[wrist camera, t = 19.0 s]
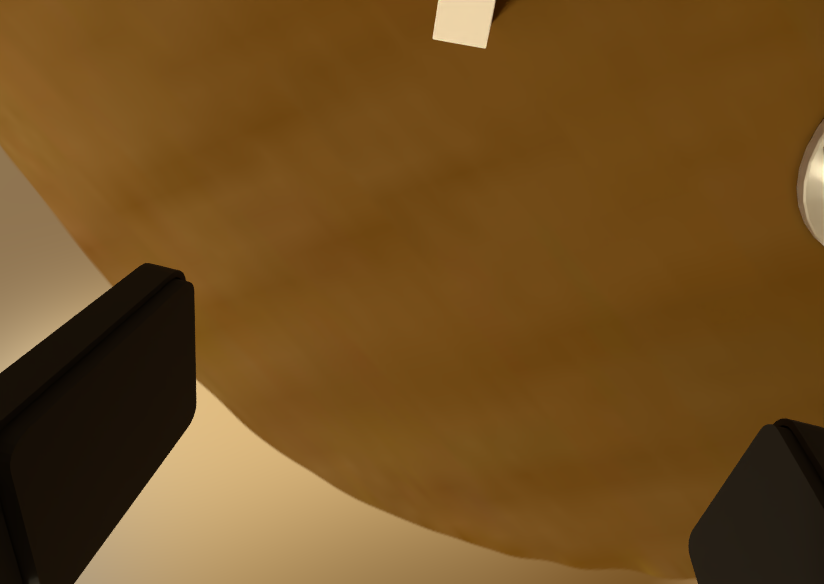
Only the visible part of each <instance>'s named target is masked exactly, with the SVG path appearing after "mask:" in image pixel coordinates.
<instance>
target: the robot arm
mask: <svg viewBox="0 0 824 584" xmlns="http://www.w3.org/2000/svg"><path fill="white" fill-rule="evenodd" d="M823 147H824V119H823V121H822V122H821V123H820V125H819V126H818V128H817V129H816V131H815V133H814V135H813V137H812V138H811V140H810V142H809V144H808V145H807V147H806V150H805V153H804V156H803V159H802V162H801V165H800V168H799V175H798V182H797V197H798V207H799V209H800V212H801V215H802V218H803V221H804V223H805V225H806V226H807V228H808V229H809V230H810V232H811V233H812V235H813V236H814V237H815V238H816V239H817V240H818V241H819V242H820V243H821V244H822V245H823V246H824V148H823ZM195 410H196V359H195V306H194V287H193V284H192V283H190V282H187V281H186V279H185V276H184V274H183V273H182V272H181V271H179V270H175V269H171V268H167V267H163V266H159V265H155V264H151V263H144V264H143V265H141V266H139V267H138V268H137V269H135V270H134V271H133V272H131V273H130V274H129V275H128V276H126V277H125V278H124V279H122V280H121V281H120V282H118V283H117V284H116V285H115V286H113V287H112V288H111V289H109V290H108V291H107V292H105V293H104V294H103V295H101V296H100V297H99V298H98V299H96V300H95V301H94V302H92V303H91V304H90V305H88V306H87V307H86V308H85V309H83V310H82V311H81V312H79V313H78V314H77V315H75V316H74V317H73V318H72V319H70V320H69V321H68V322H66V323H65V324H64V325H62V326H61V327H60V328H59V329H57V330H56V331H55V332H53V333H52V334H51V335H49V336H48V337H47V338H46V339H44V340H43V341H42V342H40V343H39V344H38V345H36V346H35V347H34V348H33V349H31V350H30V351H29V352H27V353H26V354H25V355H23V356H22V357H21V358H20V359H18V360H17V361H16V362H15V363H13V364H12V365H10V366H9V367H8V368H7V369H5V370H4V371H3V372H1V373H0V584H74V583H75V582H76V580H77V579H78V577H79V576H80V575H81V573H82V572H83V571H84V569H85V568H86V566H87V565H88V564H89V562H90V561H91V560H92V558H93V557H94V555H95V554H96V552H97V551H98V550H99V549H100V547H101V546H102V545H103V543H104V542H105V540H106V539H107V538H108V536H109V535H110V534H111V532H112V531H113V529H114V528H115V527H116V525H117V524H118V523H119V521H120V520H121V518H122V517H123V515H124V514H125V513H126V512H127V510H128V509H129V507H130V506H131V505H132V503H133V502H134V501H135V499H136V498H137V496H138V495H139V494H140V492H141V491H142V490H143V488H144V487H145V486H146V484H147V483H148V481H149V480H150V479H151V477H152V476H153V475H154V473H155V472H156V470H157V469H158V468H159V466H160V465H161V464H162V462H163V461H164V459H165V458H166V457H167V455H168V454H169V453H170V451H171V450H172V448H173V447H174V446H175V444H176V443H177V442H178V440H179V439H180V437H181V436H182V435H183V433H184V432H185V431H186V429H187V428H188V426H189V425H190V423H191V421H192V419H193V417H194V413H195ZM689 554H690V558H691V562H692V565H693V568H694V572H695V575H696V578H697V582H698V584H824V428H822V427H819V426H815V425H811V424H807V423H803V422H799V421H794V420H790V419H780V420H778V421H776V422H775V423H774V424H773V425H772V424H768V425H765V426H764V427H763V428H762V429H761V430H760V431H759V433H758V434H757V436H756V437H755V439H754V440H753V441H752V443H751V444H750V446H749V447H748V449H747V450H746V452H745V453H744V455H743V456H742V458H741V459H740V461H739V462H738V464H737V465H736V467H735V468H734V470H733V471H732V473H731V474H730V476H729V477H728V478H727V480H726V481H725V483H724V484H723V486H722V487H721V489H720V490H719V492H718V493H717V495H716V496H715V498H714V499H713V501H712V502H711V504H710V505H709V507H708V508H707V510H706V511H705V513H704V514H703V515H702V517H701V518H700V520H699V521H698V523H697V524H696V526H695V527H694V529H693V530H692V532H691V535H690V538H689Z"/></svg>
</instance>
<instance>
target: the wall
mask: <svg viewBox="0 0 824 584" xmlns="http://www.w3.org/2000/svg"><path fill="white" fill-rule="evenodd" d="M495 3H496V0H438V7H437V13H436V20H435V26H434V33H433V39H435V40H441V41H446V42H452V43H457V44H463V45H469V46H474V47H480V48H485V49H486V45H487V41H488V36H489V32H490V28H491V23H492V18H493V13H494V8H495Z"/></svg>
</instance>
